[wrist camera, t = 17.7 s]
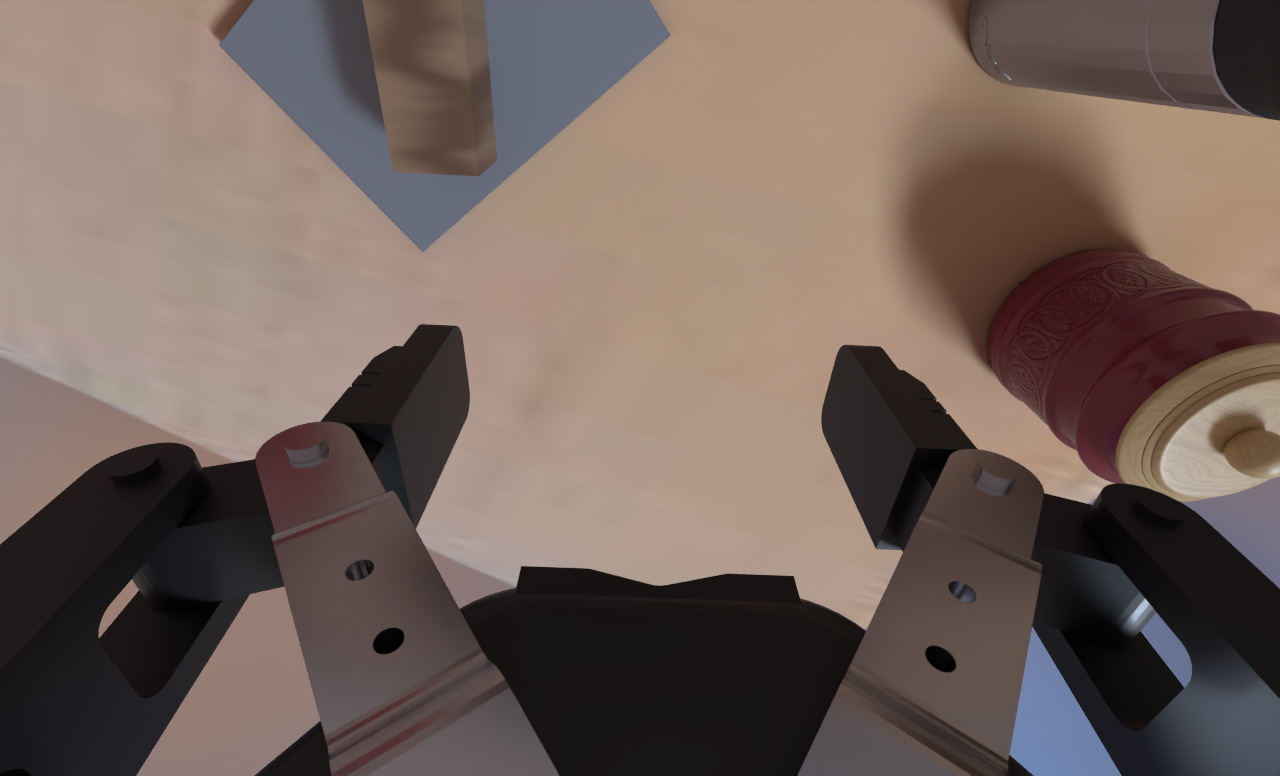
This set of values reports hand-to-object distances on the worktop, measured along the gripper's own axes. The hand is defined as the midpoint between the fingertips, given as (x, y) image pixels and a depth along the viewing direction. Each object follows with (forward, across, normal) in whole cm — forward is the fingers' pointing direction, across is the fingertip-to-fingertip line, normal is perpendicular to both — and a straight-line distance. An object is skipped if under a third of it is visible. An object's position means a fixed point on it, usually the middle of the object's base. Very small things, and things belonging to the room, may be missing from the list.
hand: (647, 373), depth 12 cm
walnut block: (+27, +12, +1) cm, 29 cm away
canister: (+30, -34, +12) cm, 47 cm away
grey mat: (+30, +12, -5) cm, 33 cm away
